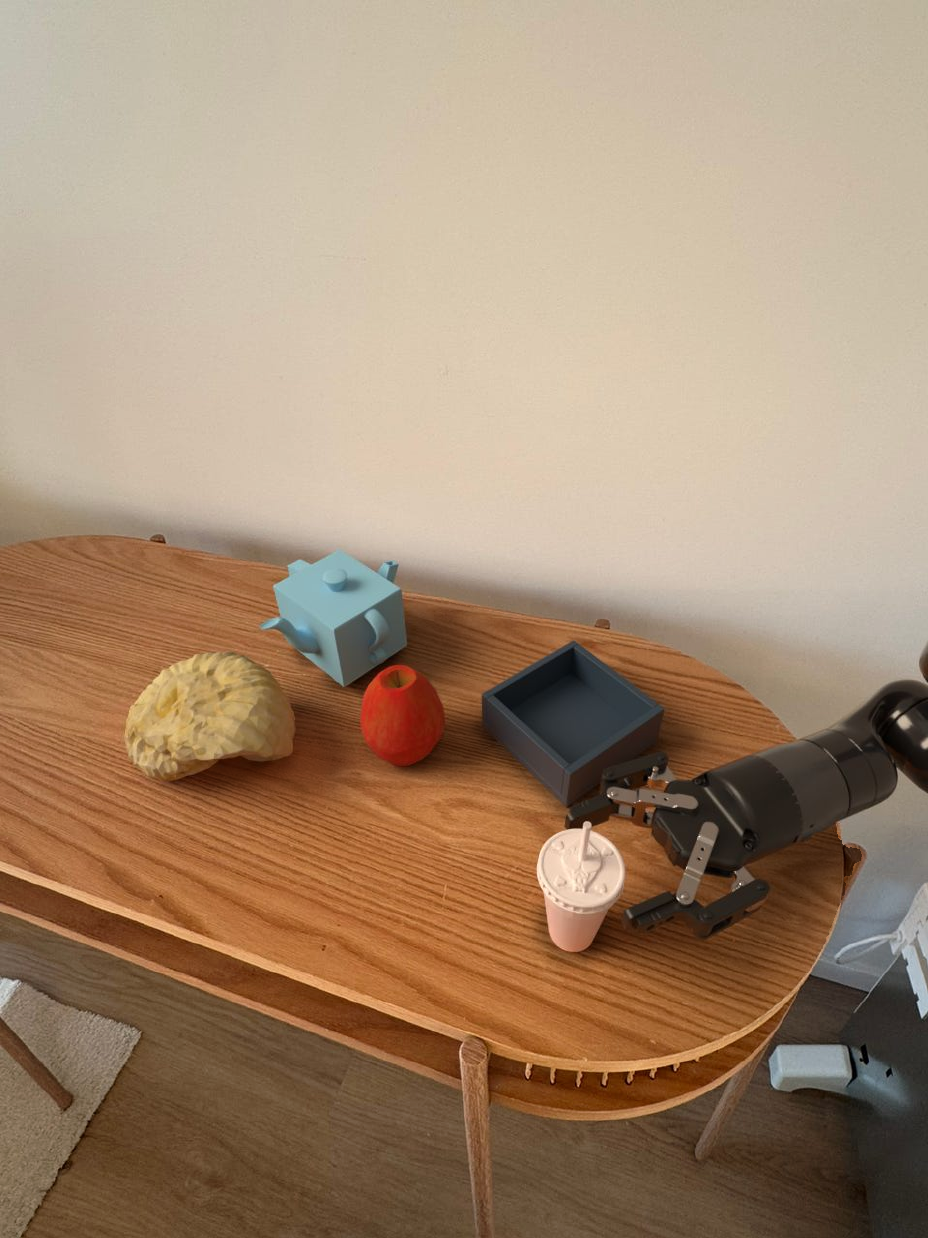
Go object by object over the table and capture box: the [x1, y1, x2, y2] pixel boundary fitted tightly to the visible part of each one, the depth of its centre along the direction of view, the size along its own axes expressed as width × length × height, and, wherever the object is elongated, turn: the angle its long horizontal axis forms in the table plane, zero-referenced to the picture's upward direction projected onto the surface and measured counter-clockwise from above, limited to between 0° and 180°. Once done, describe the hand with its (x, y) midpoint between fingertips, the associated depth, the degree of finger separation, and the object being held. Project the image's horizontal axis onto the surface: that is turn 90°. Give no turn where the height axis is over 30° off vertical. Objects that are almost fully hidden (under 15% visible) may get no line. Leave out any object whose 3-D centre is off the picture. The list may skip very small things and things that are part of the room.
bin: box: [481, 639, 666, 808], centre depth 73 cm, size 13×13×5 cm
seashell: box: [123, 651, 296, 782], centre depth 71 cm, size 17×11×15 cm
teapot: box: [259, 549, 408, 688], centre depth 81 cm, size 16×18×11 cm
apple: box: [359, 664, 446, 767], centre depth 70 cm, size 8×8×11 cm
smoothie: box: [536, 821, 626, 953], centre depth 55 cm, size 6×6×14 cm
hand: (594, 871), depth 54 cm, fingers open, 8 cm apart
